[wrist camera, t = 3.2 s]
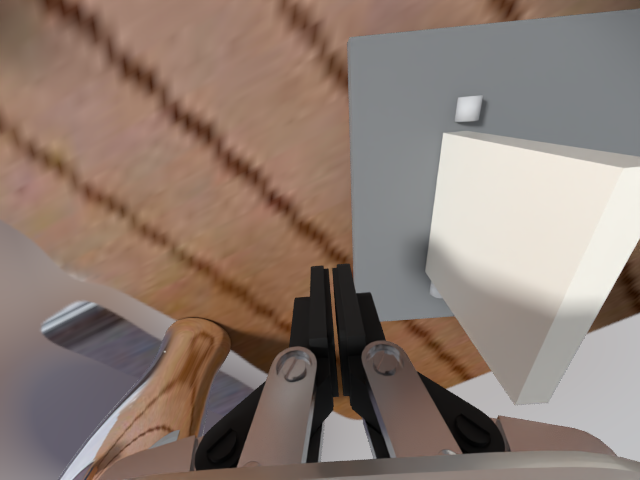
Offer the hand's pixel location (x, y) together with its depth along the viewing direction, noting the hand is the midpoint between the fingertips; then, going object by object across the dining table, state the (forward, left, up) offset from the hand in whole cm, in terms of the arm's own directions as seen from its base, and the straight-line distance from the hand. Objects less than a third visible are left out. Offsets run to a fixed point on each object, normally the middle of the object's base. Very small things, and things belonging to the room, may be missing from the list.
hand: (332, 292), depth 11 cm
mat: (0, +12, -9) cm, 15 cm away
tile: (0, +9, -7) cm, 12 cm away
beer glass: (+12, -13, -9) cm, 20 cm away
